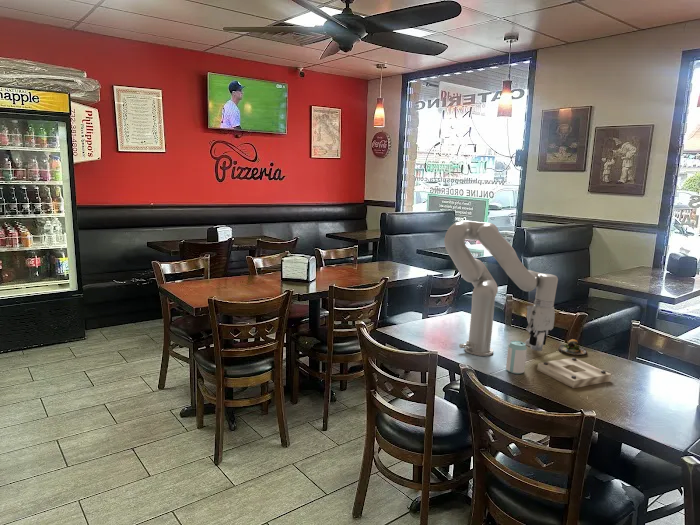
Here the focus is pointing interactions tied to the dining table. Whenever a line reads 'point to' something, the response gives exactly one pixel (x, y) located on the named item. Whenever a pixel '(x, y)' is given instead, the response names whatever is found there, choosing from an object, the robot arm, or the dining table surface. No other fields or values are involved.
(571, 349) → the burger
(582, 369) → the plate
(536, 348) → the bushing
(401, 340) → the dining table surface
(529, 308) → the chalice
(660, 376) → the dining table surface
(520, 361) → the can
